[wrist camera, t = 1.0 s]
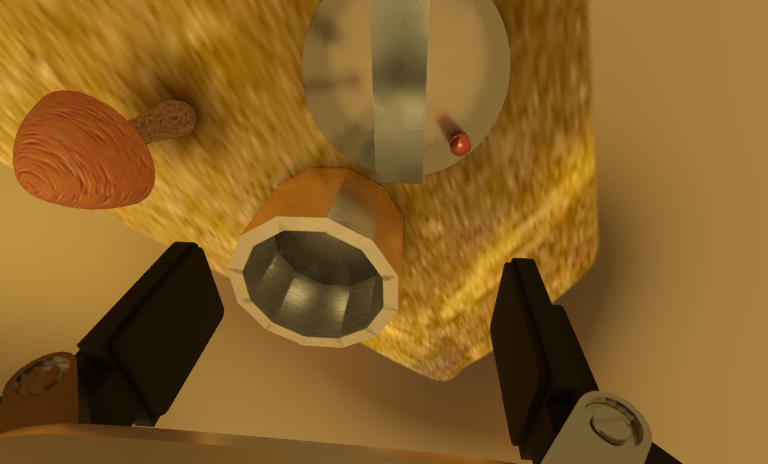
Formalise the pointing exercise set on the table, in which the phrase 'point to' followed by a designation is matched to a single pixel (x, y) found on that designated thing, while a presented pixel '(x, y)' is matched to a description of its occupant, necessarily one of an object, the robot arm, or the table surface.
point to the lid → (405, 81)
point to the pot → (322, 259)
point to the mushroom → (92, 150)
